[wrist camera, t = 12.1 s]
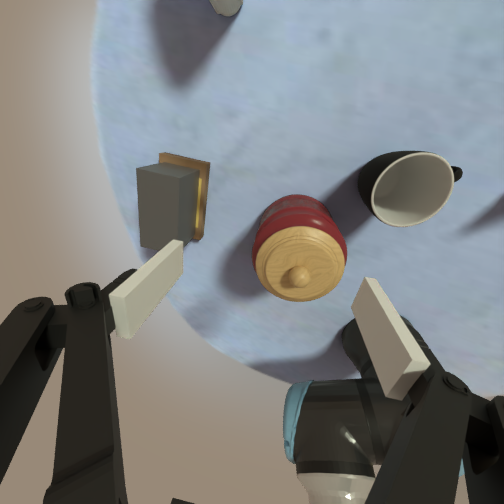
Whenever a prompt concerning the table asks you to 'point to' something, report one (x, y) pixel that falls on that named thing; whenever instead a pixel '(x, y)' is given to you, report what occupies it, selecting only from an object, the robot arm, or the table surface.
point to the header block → (202, 188)
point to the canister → (298, 249)
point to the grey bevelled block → (166, 204)
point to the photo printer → (226, 6)
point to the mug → (407, 186)
